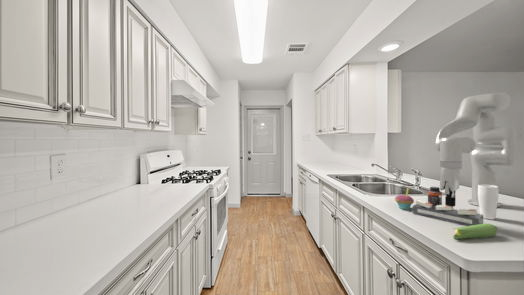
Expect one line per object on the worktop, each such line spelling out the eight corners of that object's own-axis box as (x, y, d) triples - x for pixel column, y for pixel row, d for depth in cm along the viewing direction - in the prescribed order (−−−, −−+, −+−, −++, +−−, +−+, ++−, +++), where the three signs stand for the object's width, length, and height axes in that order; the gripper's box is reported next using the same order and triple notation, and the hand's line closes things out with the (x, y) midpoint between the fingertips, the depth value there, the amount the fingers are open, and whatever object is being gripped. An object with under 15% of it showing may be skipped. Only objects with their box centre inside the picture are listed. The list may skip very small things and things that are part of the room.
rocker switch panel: (419, 210, 117) (419, 201, 117) (483, 223, 97) (483, 213, 97) (412, 213, 112) (412, 204, 112) (478, 228, 93) (478, 217, 93)
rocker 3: (460, 212, 100) (459, 209, 100) (477, 213, 95) (476, 209, 96) (458, 214, 98) (457, 210, 99) (475, 214, 94) (474, 210, 94)
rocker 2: (438, 208, 107) (437, 205, 107) (453, 208, 102) (452, 205, 102) (435, 209, 105) (435, 206, 105) (451, 210, 100) (450, 206, 100)
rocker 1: (418, 202, 113) (418, 199, 113) (431, 207, 109) (432, 204, 108) (415, 203, 112) (416, 200, 111) (429, 208, 107) (430, 205, 107)
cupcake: (413, 207, 122) (413, 185, 122) (414, 211, 115) (414, 188, 115) (395, 205, 127) (395, 184, 127) (394, 209, 120) (394, 186, 119)
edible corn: (504, 227, 84) (491, 219, 88) (456, 232, 82) (444, 224, 86) (499, 238, 85) (487, 230, 90) (452, 244, 83) (441, 235, 87)
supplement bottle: (444, 210, 116) (444, 188, 116) (431, 209, 118) (431, 188, 117) (437, 206, 122) (438, 186, 122) (425, 206, 123) (425, 185, 123)
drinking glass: (493, 216, 106) (494, 184, 105) (501, 221, 100) (501, 187, 99) (474, 214, 109) (475, 184, 108) (481, 219, 103) (481, 186, 102)
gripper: (445, 163, 108) (445, 201, 109) (434, 165, 100) (434, 206, 100) (466, 164, 102) (466, 204, 103) (456, 167, 94) (455, 211, 94)
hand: (450, 205), depth 102 cm, fingers closed
